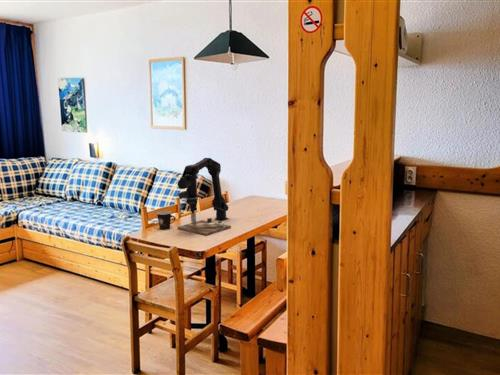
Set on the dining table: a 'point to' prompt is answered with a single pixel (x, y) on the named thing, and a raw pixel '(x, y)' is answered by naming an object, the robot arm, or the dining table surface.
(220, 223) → the lever
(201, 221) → the nutcracker board
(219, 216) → the robot arm
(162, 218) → the coffee mug
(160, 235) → the dining table surface
